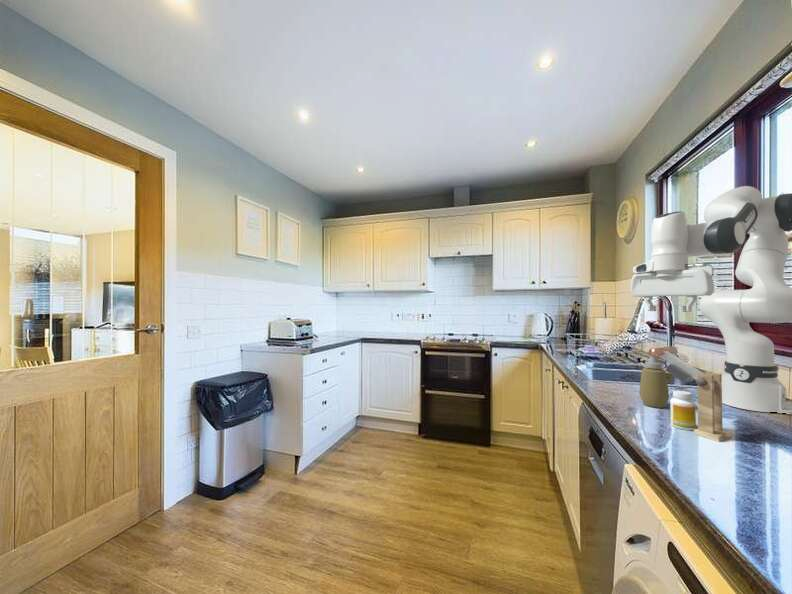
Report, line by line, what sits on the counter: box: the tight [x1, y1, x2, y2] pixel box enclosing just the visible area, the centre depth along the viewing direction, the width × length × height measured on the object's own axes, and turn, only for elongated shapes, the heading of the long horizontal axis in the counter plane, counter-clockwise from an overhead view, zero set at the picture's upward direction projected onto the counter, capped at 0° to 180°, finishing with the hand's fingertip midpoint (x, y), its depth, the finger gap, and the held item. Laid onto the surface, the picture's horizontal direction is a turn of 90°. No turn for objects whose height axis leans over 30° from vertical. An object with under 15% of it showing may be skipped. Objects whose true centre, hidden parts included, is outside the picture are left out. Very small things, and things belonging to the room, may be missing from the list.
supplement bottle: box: [669, 390, 697, 431], centre depth 93 cm, size 5×5×10 cm
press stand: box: [693, 371, 733, 442], centre depth 87 cm, size 7×5×16 cm
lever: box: [648, 346, 716, 383], centre depth 94 cm, size 10×15×4 cm
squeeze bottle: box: [638, 355, 670, 409], centre depth 112 cm, size 8×8×18 cm
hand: (669, 311), depth 100 cm, fingers open, 8 cm apart
